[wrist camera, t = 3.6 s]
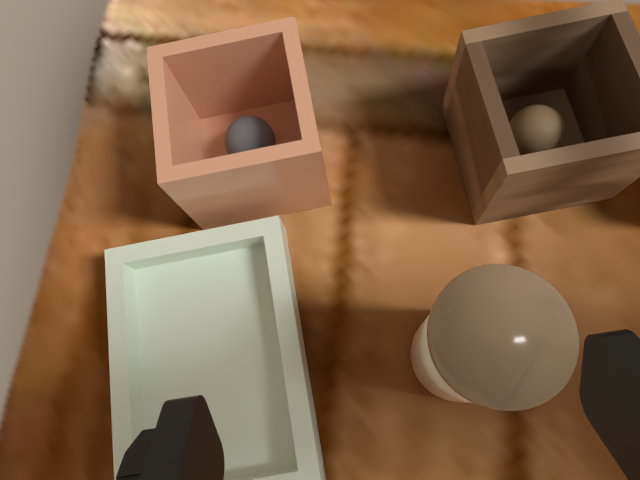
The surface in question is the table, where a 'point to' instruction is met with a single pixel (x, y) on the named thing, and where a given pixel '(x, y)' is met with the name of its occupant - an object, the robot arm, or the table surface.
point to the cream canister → (497, 340)
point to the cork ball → (537, 129)
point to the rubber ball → (248, 135)
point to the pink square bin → (225, 107)
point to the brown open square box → (554, 91)
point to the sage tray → (214, 345)
